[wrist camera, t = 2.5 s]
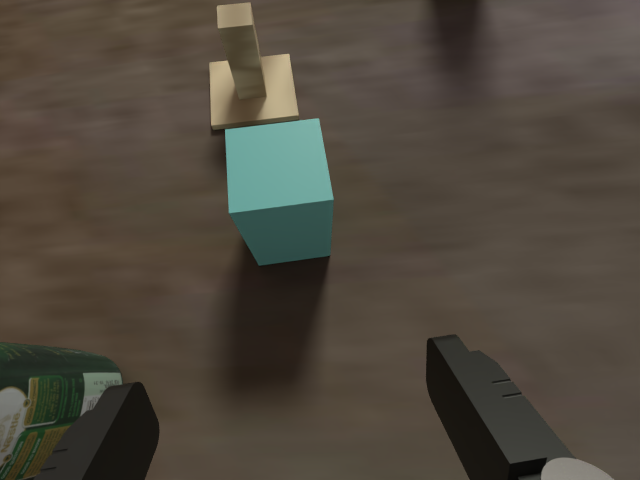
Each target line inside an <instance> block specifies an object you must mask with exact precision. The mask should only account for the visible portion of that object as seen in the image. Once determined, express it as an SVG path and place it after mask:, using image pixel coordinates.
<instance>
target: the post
mask: <svg viewBox="0 0 640 480" xmlns="http://www.w3.org/2000/svg"><path fill="white" fill-rule="evenodd" d="M217 16H218V30H219V33H220V37H221V40H222V43H223V47H224V50H225V53H226V57H227V60H228V61H220V62H211V63H210V96H211V126H212V128H213V130H218V129H226V128H235V127H243V126H251V125H260V124H268V123H276V122H285V121H293V120H299V115H298V109H297V102H296V96H295V89H294V83H293V76H292V70H291V63H290V57H289V54H284V55H275V56H265V57H261V55H260V50H259V45H258V40H257V34H256V29H255V24H254V19H253V14H252V9H251V3H250V2H249V3H239V4H230V5H220V6H217Z"/></svg>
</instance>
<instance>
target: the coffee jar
mask: <svg viewBox="0 0 640 480" xmlns="http://www.w3.org/2000/svg"><path fill="white" fill-rule="evenodd" d="M121 384H123V380H122V376H121V372H120V370H119V368H118V367H117V366H116V364H115V363H114V362H113V361H111V360H110V359H108V358H107V357H105V356H102V355H98V354H95V353H90V352H85V351H81V350H73V349H65V348H57V347H48V346H39V345H27V344H15V343H6V342H0V480H33V479H34V478H35V476H36V475H37V474H39V473H40V469H41V467H42V466H43V464H44V463H45V461H46V460H47V458H48V457H49V455H52V453H53V452H52V451H53V449H54V448H55V446H56V445H57V443H58V442H59V440H60V439H61V437H62V436H63V434H64V433H65V431H66V430H67V429H68V428H69V427H70V426H71V425H72V424H73V423H74V422H75V421H76V420H77V419H78V418H79V417H80V416H81V415H82V414H84V413H85V412H86V411H87V410H93V408H94V406H95V405H96V403H97V402H98V400H99V398H100V397H101V395H102V394H103V392H104V391H105V390H106V389H107V388H108V387H110V386H115V385H121Z"/></svg>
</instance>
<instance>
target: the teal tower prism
mask: <svg viewBox="0 0 640 480" xmlns="http://www.w3.org/2000/svg"><path fill="white" fill-rule="evenodd" d="M225 138H226V159H227V180H228V202H229V214H230V216H231V218H232V219H233V221H234V223H235V225H236V226H237V228H238V230H239V232H240V233H241V235H242V237H243V239H244V240H245V242H246V244H247V246H248V247H249V249H250V251H251V253H252V254H253V256H254V258H255V260H256V261H257V263H258V265H259V266H261V265H268V264H275V263H282V262H289V261H296V260H304V259H311V258H318V257H325V256H330V250H331V233H332V217H333V201H334V199H333V194H332V188H331V183H330V177H329V172H328V166H327V161H326V155H325V150H324V144H323V139H322V133H321V128H320V123H319V118H317V119H309V120H301V121H292V122H284V123H276V124H267V125H259V126H251V127H242V128H234V129H225Z"/></svg>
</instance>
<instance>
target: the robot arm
mask: <svg viewBox="0 0 640 480" xmlns="http://www.w3.org/2000/svg"><path fill="white" fill-rule="evenodd" d="M426 383H427V388H428V392H429V396H430V399H431V401H432V403H433V405H434V407H435V409H436V411H437V414H438V416H439V418H440V420H441V422H442V424H443V426H444V428H445V430H446V432H447V434H448V436H449V438H450V440H451V442H452V444H453V446H454V448H455V450H456V452H457V454H458V456H459V458H460V460H461V463H462V465H463V467H464V469H465V471H466V473H467V475H468V477H469V479H470V480H614V479H613V478H611V477H610V476H609V475H608V474H606V473H605V472H603V471H602V470H600V469H598V468H597V467H595V466H593V465H591V464H589V463H586V462H584V461H581V460H578V459H576V458H575V457H574V456H573V455H572V454H571V452H570V451H569V450H568V449H567V448H566V446H565V445H564V444H563V443H562V442H561V440H560V439H559V438H558V437H557V435H556V434H555V433H554V432H553V431H552V429H551V428H550V427H549V426H548V424H547V423H546V422H545V421H544V419H543V418H542V417H541V416H540V415H539V413H538V412H537V411H536V410H535V408H534V407H533V406H532V405H531V404H530V402H529V401H528V400H527V399H526V397H525V396H522V394H521V391H520V390H519V389H518V388H517V386H516V385H515V384H514V383H513V382H511V380H510V378H509V377H508V375H507V374H506V373H505V372H504V370H503V369H502V368H501V367H500V365H499V364H498V363H497V362H495V361H494V360H493V359H491V358H490V357H488V356H487V355H485V354H484V353H482V352H481V351H479V350H478V351H472V352H469V350H468V349H467V348H466V346H465V345H464V344H463V342H462V341H461V340H460V338H459V337H458V336H457V335H447V336H441V337H434V338H429V339H428V340H427V361H426ZM158 440H159V423H158V419H157V417H156V414H155V412H154V409H153V407H152V405H151V402H150V400H149V397H148V395H147V393H146V390H145V388H144V386H143V384H142V383H140V382H134V383H128V384H121V385H115V386H110V387H108V388H107V389H106V390H105V391H104V392H103V394H102V395H101V397H100V398H99V400H98V402H97V403H96V405H95V406H94V408H93V410H87V411H86V412H85V413H84V414H82V415H81V416H80V417H79V418H78V419H77V420H76V421H75V422H74V423H73V424H72V425H71V426H70V427H69V428H68V429H67V430H66V431H65V433H64V434H63V436H62V437H61V439H60V440H59V442H58V443H57V445H56V446H55V448H54V449H53V451H52V452H53V453H52V455H49V457H48V458H47V460H46V461H45V463H44V464H43V466H42V467H41V469H40V473H39V474H37V475H36V476H35V478H34V479H33V480H145V477H146V474H147V472H148V469H149V466H150V463H151V461H152V458H153V455H154V453H155V450H156V447H157V444H158Z"/></svg>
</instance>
